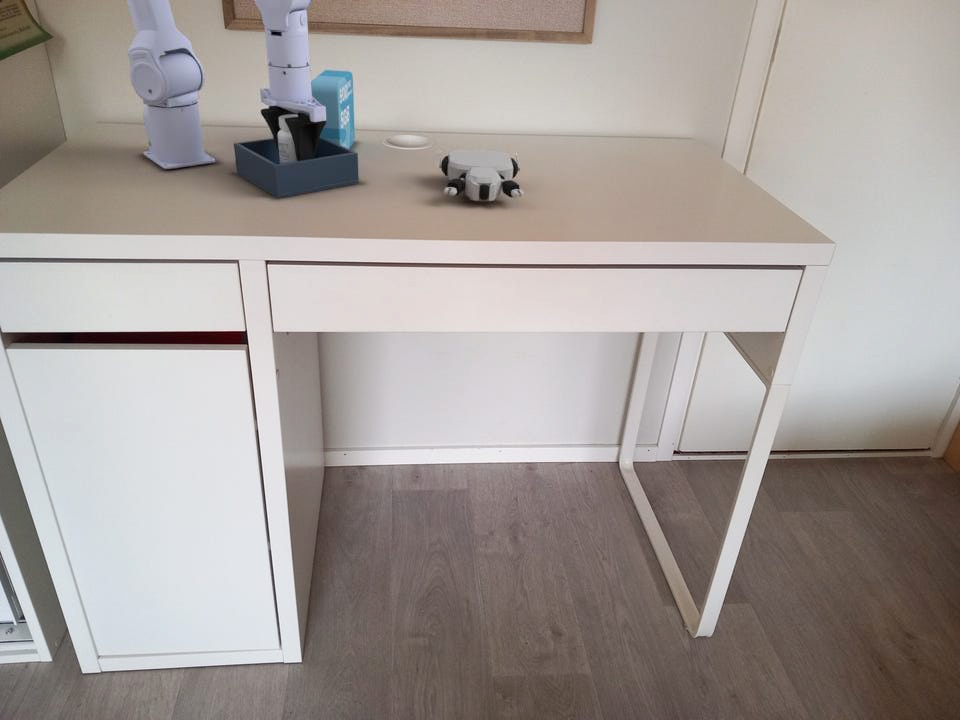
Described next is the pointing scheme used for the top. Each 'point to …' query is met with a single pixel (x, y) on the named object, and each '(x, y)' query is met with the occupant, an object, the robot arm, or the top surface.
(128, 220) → the top surface
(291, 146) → the pill bottle
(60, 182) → the top surface
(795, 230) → the top surface
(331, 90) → the blue carton
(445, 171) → the robot toy
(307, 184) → the tote
